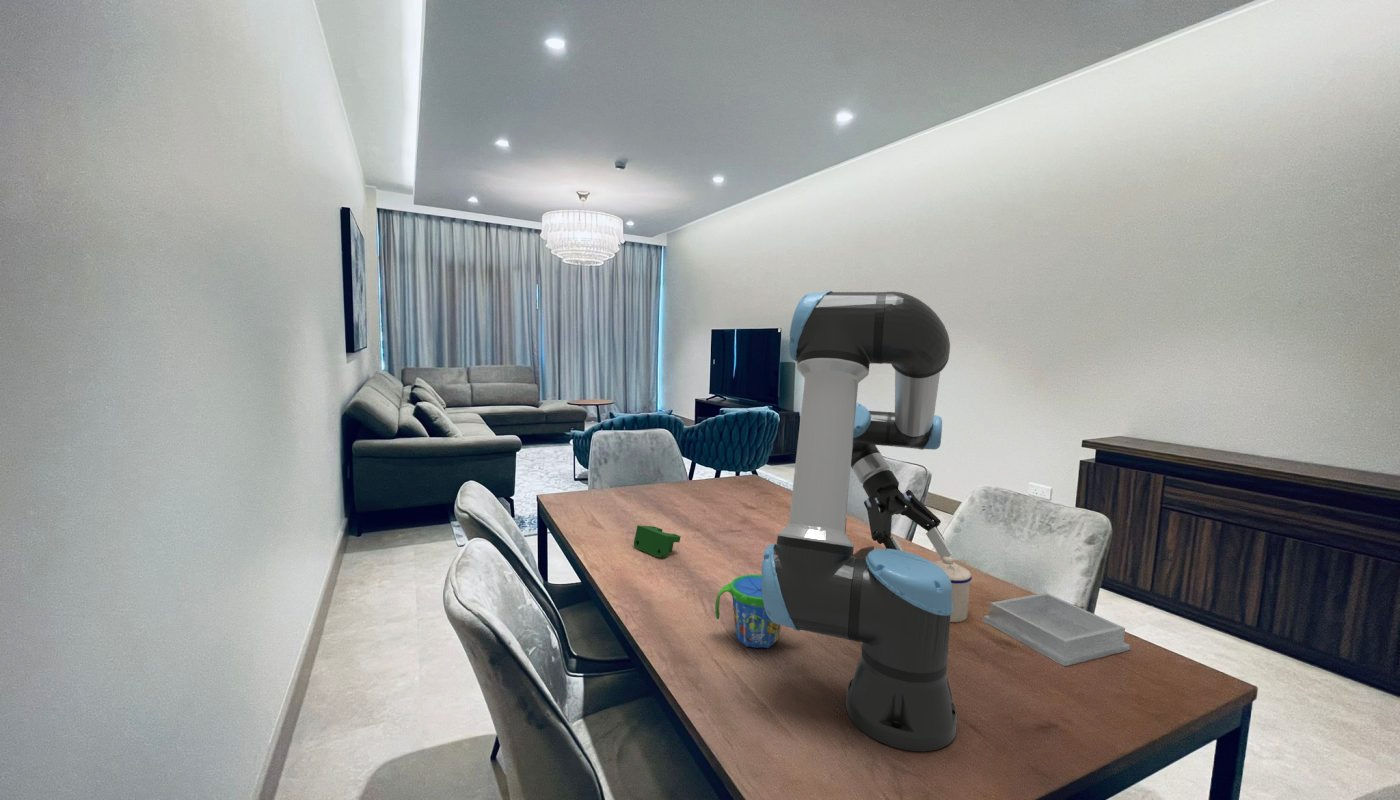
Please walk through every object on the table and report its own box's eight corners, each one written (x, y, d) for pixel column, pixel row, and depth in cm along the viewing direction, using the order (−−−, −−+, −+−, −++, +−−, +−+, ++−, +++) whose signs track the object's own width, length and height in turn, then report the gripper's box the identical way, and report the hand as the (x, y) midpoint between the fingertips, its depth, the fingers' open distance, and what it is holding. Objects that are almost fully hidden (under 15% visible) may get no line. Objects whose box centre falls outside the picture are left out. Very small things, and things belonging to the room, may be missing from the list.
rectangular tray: (1064, 666, 97) (1066, 644, 97) (982, 620, 113) (984, 601, 113) (1129, 650, 104) (1131, 629, 103) (1043, 609, 119) (1045, 590, 119)
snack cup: (801, 631, 107) (804, 579, 106) (798, 661, 96) (801, 603, 96) (720, 620, 110) (722, 569, 109) (708, 647, 100) (710, 592, 99)
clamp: (670, 570, 145) (686, 541, 143) (653, 570, 141) (669, 540, 139) (646, 540, 153) (661, 512, 151) (629, 540, 149) (645, 511, 147)
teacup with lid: (975, 614, 116) (979, 558, 115) (957, 628, 110) (962, 570, 109) (918, 594, 125) (922, 543, 124) (899, 607, 118) (902, 552, 117)
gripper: (901, 480, 140) (951, 560, 129) (827, 491, 127) (876, 581, 116) (921, 463, 135) (975, 544, 124) (846, 473, 122) (899, 565, 111)
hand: (927, 562), depth 120 cm, fingers open, 13 cm apart
